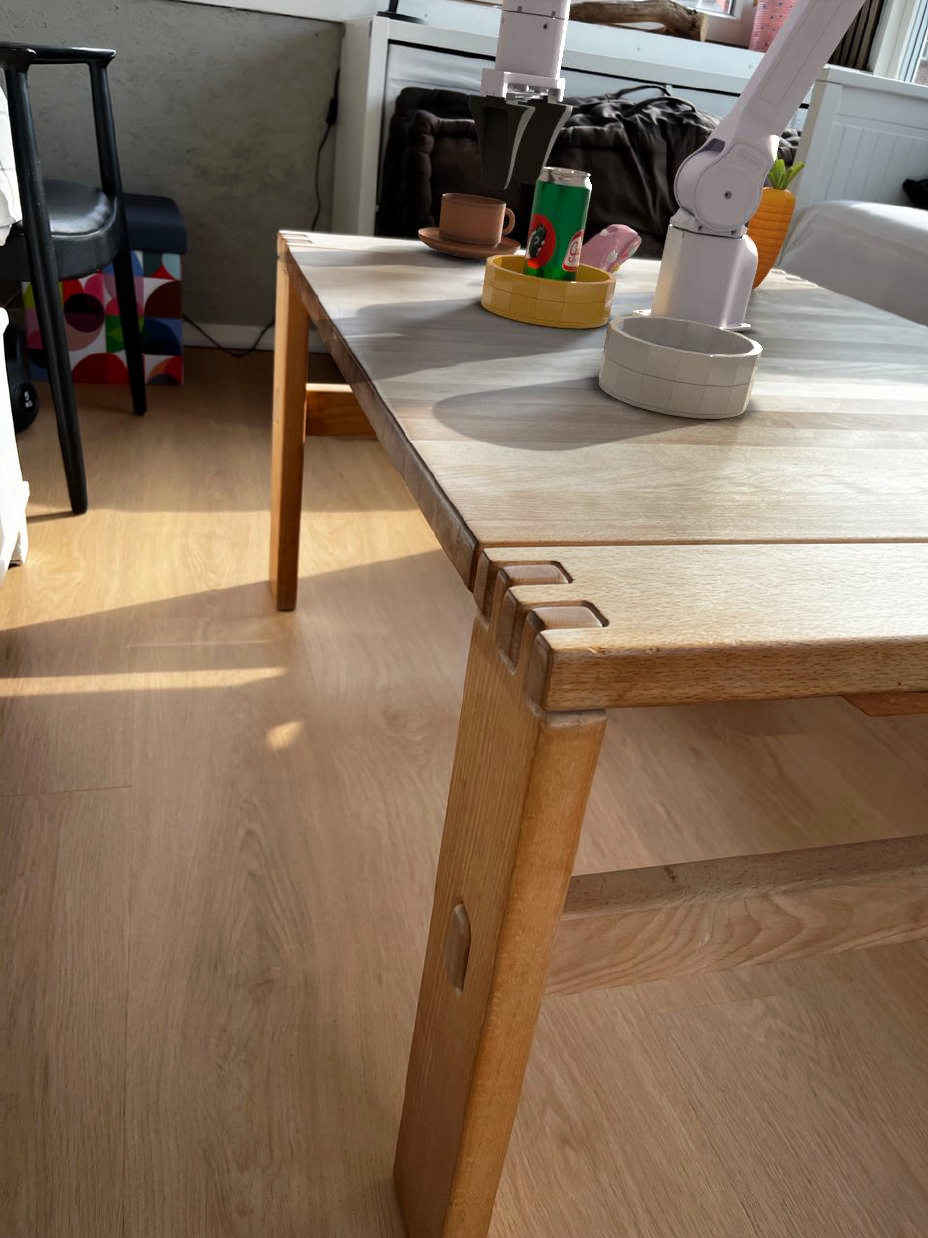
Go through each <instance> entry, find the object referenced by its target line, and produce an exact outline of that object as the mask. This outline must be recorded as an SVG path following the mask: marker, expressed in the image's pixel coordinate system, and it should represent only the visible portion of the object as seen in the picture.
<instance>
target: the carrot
mask: <svg viewBox="0 0 928 1238" xmlns="http://www.w3.org/2000/svg"><path fill="white" fill-rule="evenodd" d="M805 166H806V164H805V163H804V162H803V161H798V162H797V163H796V164H795V165H794V166H792V165H791V166H790V167H788V169H787V170H786V166H785V161H784V159H781V158H780V159H779V157H778V152H777V153H776V159H775V162H774V164H773V166H772V168H771V169H770V171H771V172H770V171H769V172H768V174H767V176H766V177H767V179H768V180H769V182H770V185H771V186H772V187H770V186H766V187H763V191H762V198H761V201H760V204H759V207H758V209H757V211H756V212H755V214H754V215H753V216H752V218H751V219H750V220H749V221H748V225H747V233H746V235H747V236H749V237H750V238H751V239H752V241H753V242H754V244H755V246H756V250H757V255H758V264H757V270H756V274H755V277H754V281H753V285H752V289H751V291H752V290H755V289H757V288H758V287H759V286H760V285H761V283H762V282H763V281H764V280H765V278H766V277H767V276H768V275H769V274H770V272H771V270H772V269H773V267H774V265H775V263H776V261H777V259H778V256H779V254H780V252H781V250H782V248H783V245H784V243H785V241H786V237H787V234H788V231H789V228H790V225H791V222H792V218H793V215H794V211H795V207H796V203H797V202H796V196H795V195H794V194H793V193H792V192H791V191H790V190H788V189H787V187H788V186H789V185H790V184H791V182H792V181H793V180H794V179H795V178H796V176H797V175H798V174H799V173H800V172H801V170H803V169H804V168H805Z"/></svg>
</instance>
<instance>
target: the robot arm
mask: <svg viewBox="0 0 928 1238" xmlns="http://www.w3.org/2000/svg"><path fill="white" fill-rule="evenodd" d="M866 1H867V0H796V1H795V3H794V4H793V7H792V8H791V10H790V11H789V13H788V15H787V16H786V18H785V20H784V21H783V23H782V24H781V27H780V28H779V29H778V32H777V33H776V35H775V36H774V38H773V40H772V41H771V43H770V45H769V46H768V48H767V50H766V51H765V53H764V55H763V57H762V58H761V60H760V61H759V63H758V65H757V67H756V68H755V70H754V72H753V74H752V75H751V77H750V79H749V80H748V81H747V84H746V85H745V86H744V89H743V90H742V92H741V93H740V95H739V97H738V98H737V100H736V102H735V103H734V104H733V107H732V109H730V111H729V113H727V114H726V115H725V116H724V118H722V120H721V121H720V122H719V123H718V124H717V125H716V126H715V128H713V129H712V131H711V132H710V135H709V136H708V138H707V139H706V141H705V142H704V144H702V146H700V147H699V148H698V149H696V150H695V151H694V152H693V153H691V154H690V155H688V156H687V157H686V158H685V159H684V160H683V162H681V164H680V165H679V167H678V169H677V172H676V174H675V177H674V183H673V193H674V197H675V200H676V203H677V204H678V206H679V208H678V209H677V211H676V213H675V214H674V215H673V216H671V217H670V219H669V224H668V228H667V233H666V237H665V242H664V247H663V250H662V251H663V252H662V255H661V256H662V257H661V260H660V261H661V262H660V266H659V271H658V276H657V280H656V285H655V291H654V295H653V300H652V304H651V308H649V309H640V310H639V309H638V310H632V311H631V316H634V315H641V316H661V317H669V318H676V319H683V320H690V321H695V322H699V323H704V324H708V325H713V326H717V327H720V328H723V329H727V330H730V331H733V332H742V331H749V330H750V329H751V325H750V324H749V323H745V318H746V313H747V309H748V305H749V301H750V298H751V297H750V296H751V292H752V285H753V281H754V277H755V274H756V270H757V264H758V255H757V250H756V246H755V244H754V242H753V241H752V239H751V238H750V237H749V236H747V229H748V227H746V224H747V223H749V220H750V219H751V218H752V216H753V215H754V214H755V212H756V211H757V209H758V207H759V204H760V201H761V198H762V191H763V188H764V186H765V185H764V184H765V181H766V179H767V177H768V176H767V174H768V172H770V171H771V168H772V166H773V164H774V162H775V159H776V153H777V154H778V147H779V142H780V138H781V137H782V135H783V133H784V132H785V130H786V128H787V127H788V125H789V124H790V122H791V120H792V119H793V117H794V115H795V114H796V113H797V112H798V110H799V108H800V106H801V104H802V103H803V102H804V100H805V98H806V97H807V95H808V94H809V92H810V90H811V89H812V87H813V85H814V84H815V82H816V80H817V79H818V77H819V76H820V74H821V73H822V71H823V69H824V68H825V66H826V65H827V63H828V61H829V60H830V58H831V56H832V55H833V53H834V52H835V50H836V48H837V47H838V45H839V44H840V42H841V41H842V39H843V37H844V36H845V34H846V32H847V31H848V30H849V28H850V26H851V25H852V23H853V21H854V20H855V18H856V16H857V15H858V14H859V11H860V10H861V8H862V7H863V6H864V4H865V3H866ZM570 4H571V0H502V4H501V13H500V22H499V30H498V37H497V46H496V52H495V54H496V55H495V61H494V68H489V67H482V68H481V79H480V87H479V88H480V89H479V94H475V93H474V94H473V93H470V94H469V95H468V102H467V106H468V108H469V111H470V113H471V116H472V119H473V122H474V123H473V124H474V127H475V130H476V134H477V141H478V148H479V156H480V157H479V158H480V159H479V160H480V170H481V181H482V186H483V187H487V188H492V189H497V190H498V189H499V190H507V188H508V187H509V183H510V181H511V178H512V174H513V169H514V178H515V183H517V184H518V183H519V184H523V185H530V186H535V185H536V180H537V178H538V177H539V176H540V174H541V173H542V168H543V167H546V166H547V162H548V159H549V156H550V154H551V151H552V149H553V146H554V144H555V143H556V140H557V137H559V134H560V132H561V130H563V129H562V128H563V127H564V126H565V124H566V123H567V121H568V120H569V119H570V117H571V115H572V111H573V105H570V104H564V103H559V102H562V101H563V96H564V89H565V83H566V79H565V78H563V77H560V71H561V64H562V58H563V51H564V46H565V38H566V31H567V25H568V19H569V12H570ZM528 90H531V91H528ZM517 98H518V99H527V100H518V99H517Z"/></svg>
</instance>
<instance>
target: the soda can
mask: <svg viewBox="0 0 928 1238" xmlns="http://www.w3.org/2000/svg"><path fill="white" fill-rule="evenodd" d="M590 176H591V174H590V173H588V172H586V171H581V170H577V169H571V168H565V167H555V166H545V167H543V168H542V173H541V174H540V176H539V177H538V178H537V180H536V185H535V187H534V192H533V200H532V206H531V213H530V221H529V227H528V233H527V240H526V247H525V253H524V255H525V260H524V267H523V274H525V275H529V276H534V277H539V278H545V279H552V280H559V281H568V282H576V276H577V270H578V265H579V259H580V253H581V247H582V246H583V241H584V235H585V230H586V223H587V217H588V212H589V207H590V206H589V205H590V199H591V193H592V184H591V182H590V179H589V177H590Z"/></svg>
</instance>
